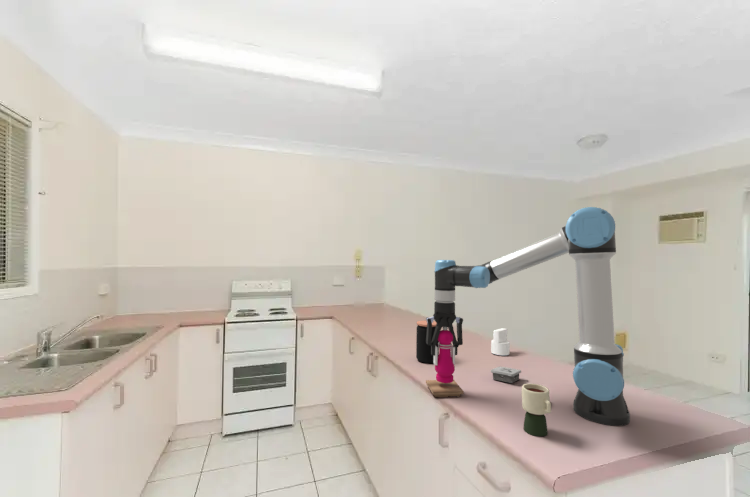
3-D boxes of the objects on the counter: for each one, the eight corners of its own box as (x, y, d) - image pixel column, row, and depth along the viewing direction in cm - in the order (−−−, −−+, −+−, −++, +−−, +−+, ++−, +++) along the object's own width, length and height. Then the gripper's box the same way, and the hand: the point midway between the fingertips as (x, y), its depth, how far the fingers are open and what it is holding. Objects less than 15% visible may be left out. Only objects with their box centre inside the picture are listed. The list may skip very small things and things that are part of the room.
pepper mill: (458, 382, 125) (459, 327, 125) (441, 384, 122) (442, 328, 122) (447, 375, 131) (447, 323, 132) (431, 377, 129) (431, 324, 129)
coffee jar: (442, 359, 166) (442, 322, 166) (433, 365, 157) (433, 325, 157) (421, 355, 172) (422, 319, 172) (412, 361, 163) (412, 323, 163)
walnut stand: (463, 398, 121) (463, 391, 121) (433, 399, 121) (433, 391, 121) (453, 386, 132) (453, 379, 132) (425, 386, 131) (425, 380, 132)
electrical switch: (513, 374, 133) (490, 365, 140) (511, 387, 133) (488, 378, 140) (522, 370, 140) (500, 362, 146) (520, 382, 140) (498, 374, 147)
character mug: (560, 441, 94) (560, 394, 94) (539, 445, 92) (539, 397, 92) (531, 422, 104) (532, 379, 105) (512, 425, 102) (512, 382, 102)
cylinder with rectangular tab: (496, 349, 184) (497, 327, 185) (512, 353, 178) (512, 330, 178) (487, 352, 179) (487, 329, 179) (503, 356, 172) (503, 332, 172)
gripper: (465, 299, 131) (465, 360, 131) (417, 299, 130) (416, 361, 130) (473, 302, 124) (472, 367, 124) (422, 302, 122) (421, 367, 122)
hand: (444, 363), depth 127 cm, fingers closed on pepper mill, 6 cm apart
